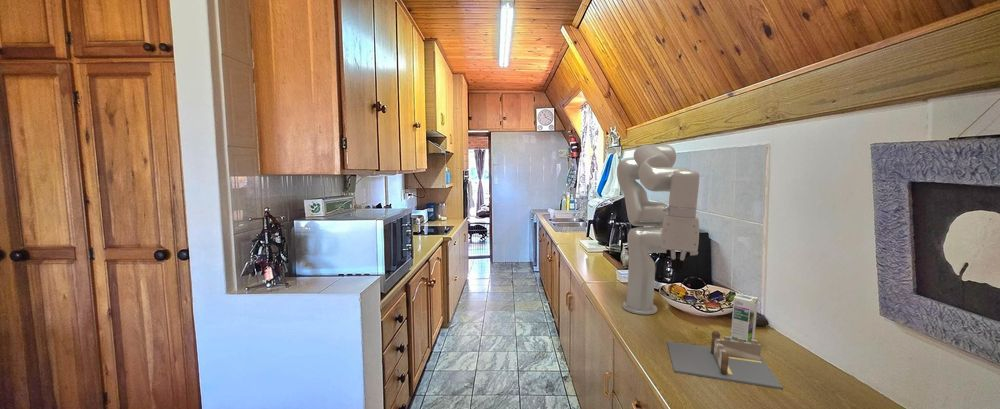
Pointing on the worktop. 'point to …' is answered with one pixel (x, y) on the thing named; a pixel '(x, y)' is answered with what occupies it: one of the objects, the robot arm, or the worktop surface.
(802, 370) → the worktop surface
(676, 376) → the worktop surface
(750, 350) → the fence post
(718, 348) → the fence gate
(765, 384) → the card
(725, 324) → the worktop surface
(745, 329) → the syrup box
